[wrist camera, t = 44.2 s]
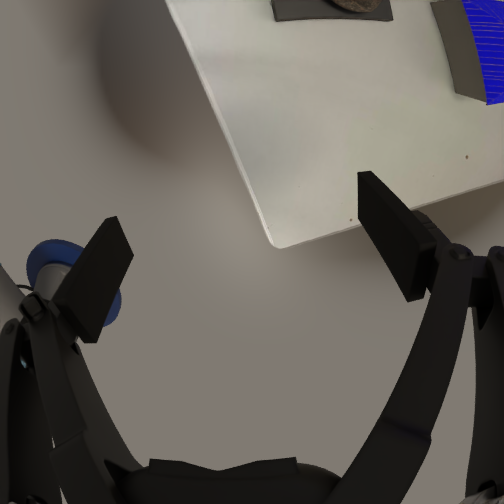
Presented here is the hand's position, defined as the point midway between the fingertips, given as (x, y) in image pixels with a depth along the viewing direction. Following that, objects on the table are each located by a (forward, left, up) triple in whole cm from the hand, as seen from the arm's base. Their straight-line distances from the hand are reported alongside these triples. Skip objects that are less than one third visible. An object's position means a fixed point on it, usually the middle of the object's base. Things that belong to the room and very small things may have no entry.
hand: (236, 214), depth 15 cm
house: (+45, +13, -27) cm, 54 cm away
